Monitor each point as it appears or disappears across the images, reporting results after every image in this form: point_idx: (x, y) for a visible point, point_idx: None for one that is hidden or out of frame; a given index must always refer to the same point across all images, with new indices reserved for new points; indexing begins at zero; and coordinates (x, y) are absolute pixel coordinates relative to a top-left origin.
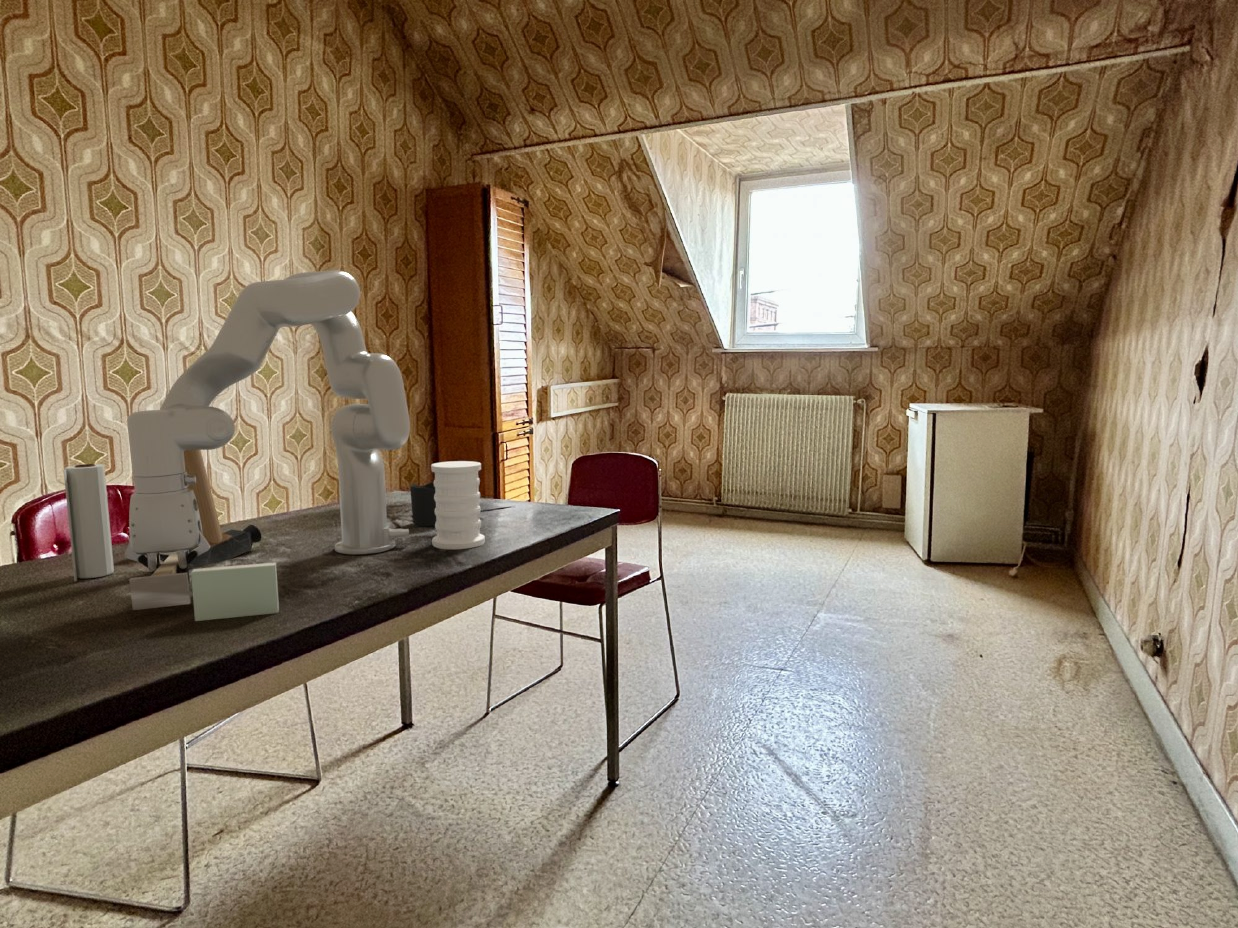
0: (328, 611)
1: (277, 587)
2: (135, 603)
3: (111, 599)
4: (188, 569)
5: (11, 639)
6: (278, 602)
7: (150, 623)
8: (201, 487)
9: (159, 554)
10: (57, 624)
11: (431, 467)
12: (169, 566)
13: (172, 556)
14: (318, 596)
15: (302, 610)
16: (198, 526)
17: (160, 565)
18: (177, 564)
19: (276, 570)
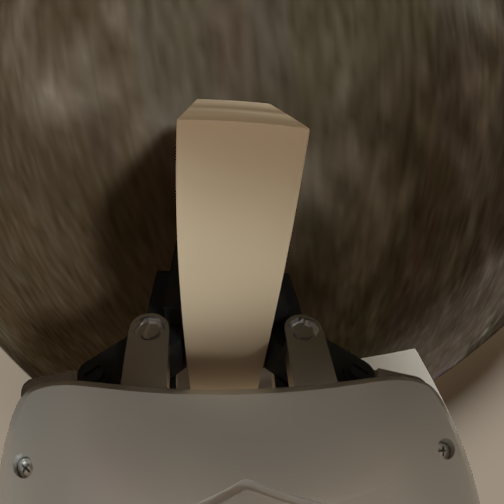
0: (447, 360)
1: (431, 380)
2: None
3: (17, 157)
4: (299, 309)
5: (15, 362)
6: (419, 359)
7: None
8: None
9: (168, 381)
10: (23, 326)
11: None
12: (234, 387)
13: (207, 207)
14: (479, 300)
15: (431, 356)
16: (460, 465)
17: (188, 368)
18: (262, 361)
19: (445, 405)
